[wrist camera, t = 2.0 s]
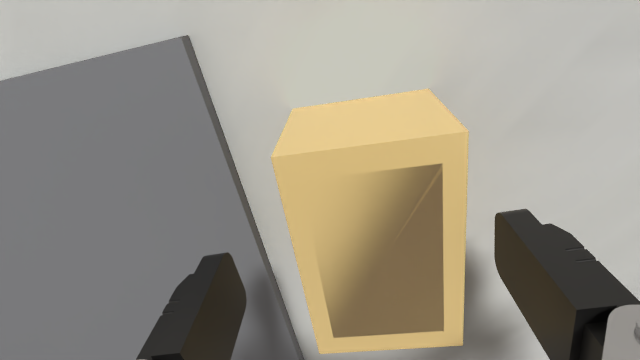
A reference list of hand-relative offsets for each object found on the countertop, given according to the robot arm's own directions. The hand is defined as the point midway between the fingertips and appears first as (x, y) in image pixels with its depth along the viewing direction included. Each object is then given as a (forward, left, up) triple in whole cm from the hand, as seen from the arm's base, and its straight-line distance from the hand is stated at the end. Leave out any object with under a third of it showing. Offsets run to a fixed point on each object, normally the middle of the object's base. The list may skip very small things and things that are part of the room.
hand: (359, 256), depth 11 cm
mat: (+13, +2, -4) cm, 14 cm away
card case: (-1, 0, -4) cm, 4 cm away
